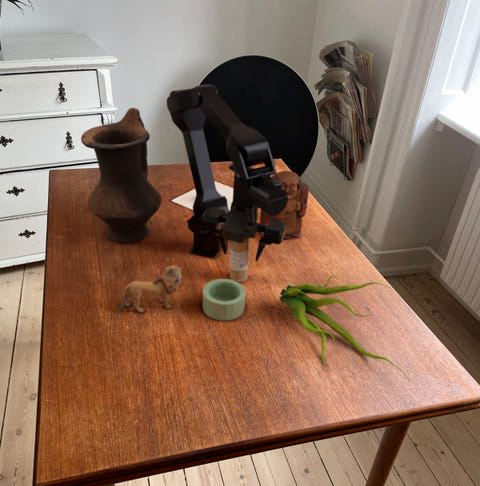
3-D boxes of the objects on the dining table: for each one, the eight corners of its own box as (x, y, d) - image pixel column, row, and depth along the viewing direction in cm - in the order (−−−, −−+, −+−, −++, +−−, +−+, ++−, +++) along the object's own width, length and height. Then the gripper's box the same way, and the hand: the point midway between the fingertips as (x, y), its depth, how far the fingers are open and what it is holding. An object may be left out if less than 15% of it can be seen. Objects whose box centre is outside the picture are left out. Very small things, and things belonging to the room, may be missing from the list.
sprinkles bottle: (244, 271, 123) (246, 222, 115) (250, 281, 120) (252, 232, 112) (227, 273, 122) (227, 225, 114) (232, 284, 119) (232, 234, 111)
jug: (145, 259, 125) (137, 139, 106) (79, 244, 128) (59, 126, 109) (176, 221, 141) (174, 111, 122) (116, 208, 144) (105, 100, 125)
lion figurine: (177, 291, 115) (177, 258, 110) (186, 304, 112) (186, 271, 106) (115, 305, 110) (111, 272, 104) (121, 320, 106) (117, 286, 101)
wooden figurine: (262, 241, 135) (269, 178, 124) (257, 229, 140) (263, 167, 129) (304, 239, 138) (314, 177, 126) (297, 227, 142) (307, 167, 131)
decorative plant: (320, 398, 93) (334, 341, 84) (275, 301, 115) (283, 247, 105) (406, 386, 97) (430, 329, 87) (347, 294, 119) (361, 241, 109)
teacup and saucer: (207, 191, 156) (207, 179, 153) (227, 199, 153) (228, 187, 150) (189, 201, 150) (189, 188, 148) (209, 209, 147) (210, 197, 145)
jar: (196, 314, 110) (196, 298, 107) (211, 290, 117) (211, 274, 114) (236, 324, 108) (237, 308, 105) (249, 300, 115) (250, 284, 112)
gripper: (191, 202, 103) (191, 265, 113) (278, 221, 99) (270, 284, 109) (210, 181, 111) (208, 242, 121) (291, 198, 108) (282, 259, 118)
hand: (241, 257), depth 117 cm, fingers open, 7 cm apart
